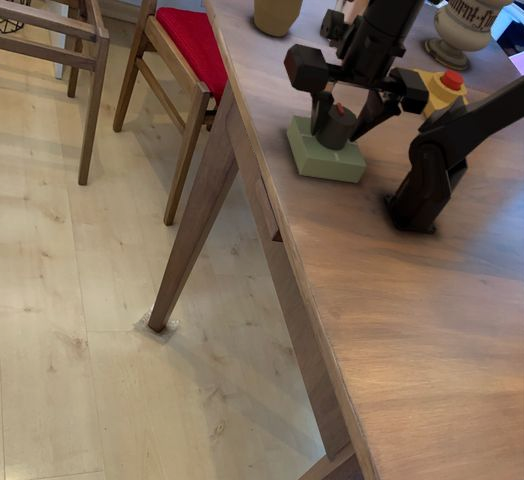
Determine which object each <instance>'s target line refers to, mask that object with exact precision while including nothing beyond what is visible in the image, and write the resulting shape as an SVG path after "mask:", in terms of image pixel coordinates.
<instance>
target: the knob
mask: <svg viewBox="0 0 524 480" xmlns="http://www.w3.org/2000/svg"><path fill="white" fill-rule="evenodd" d="M357 118H358V117H357V115H356V114H355V113H354V112H353V111H352V110H350V109H349V108H347V107H346V106H344V105H342V103H341V102H336V103H333V105H332V107H331V109H330V111H329V112H328V114H327V116H326V118H325V120H324V122H323V124H322V125H321V127H320V129H319V131H318V132H317V133H316V135H315V136H316V139H317V140H318V142H319V143H320V144H321V145H323V146H324V147H326V148H328V149H331V150H342V149H343V148H344V147H345V145H346V143H347V141H348V139H349V137H350V135H351V133H352V131H353V129H354V127H355V125H356V123H357Z"/></svg>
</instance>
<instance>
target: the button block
mask: <svg viewBox="0 0 524 480" xmlns="http://www.w3.org/2000/svg"><path fill="white" fill-rule="evenodd" d="M411 70H412V71H416V72H418V73H419V75H420V77H421V78H422V80H423V82H424V84H425V85H426V87H427V89H428V91H429V94H430V97H429V103H428V104H427V106H426V108H425V109H424V111H423V113H424V114H425V116H426V119H427V118H428V117H429V116H430V115H431V114H432V113H433V111H434V110H439V109H442V108H444V107H446V106H448V105H449V104H450V103H451V102H453V101H454V100H455V99H456V98H457V97H458V96H460V95H462V97H463V100H464V103H465V105H467V104H470V103H469V101H468V100H467V98H466V96H467V94H468V93H467V92H468V89H467V88H466V86H465V84H464V83H463V84H462V85H461V87H460V88H459V90H458V91H455V90H451V89H449V88H447V87H446V86H445V85H444V84H442V83H441V81H440V80H441V78H442V77H443V75H444V73H445V72H443V71H437V72H430V71H425V70H422V69H417V68H412V69H411Z"/></svg>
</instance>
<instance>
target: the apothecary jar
mask: <svg viewBox="0 0 524 480" xmlns="http://www.w3.org/2000/svg"><path fill="white" fill-rule="evenodd" d="M515 2H516V0H448V2H447V3H446V4H444V5H442V6H440V7H439V8H438V9H437V10H436V11H435V13H434V16H433V26H434V30H435V31H436V33H437V34H438V36H439V38H428V39H427V40H426V41H425V42H424V48H425V50H426V52H427V53H428V54H429V55H431V56H432V57H433V58H434V60H435V61H437V62H438V63H440V64H441V65H443V66H446V67H448V68H450V69H452V70H457V71H463V70H466V69H467V68H468V66H469V60H468V58H467V56H466V55H465V53H464V52H468V53H471V52H472V53H473V52H479V51H482V50H484V49H485V48H487V47H488V46H489V44H490V43H491V40H492V27H493V26H494V24H495V22H496V20H497V19H498V17H499V15H500V13H501V12H502V10H503V9H504V8H505V7H507V6H510V5H512V4H514V3H515Z"/></svg>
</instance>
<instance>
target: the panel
mask: <svg viewBox="0 0 524 480" xmlns="http://www.w3.org/2000/svg"><path fill="white" fill-rule="evenodd" d="M310 125H311V117H306V116H302V115H301V116H300V115H295V114H293V115H292V117H291V120H290V123H289V124H288V128H287V130H286V136H287V140H288V143H289V146H290V149H291V152H292V155H293V158H294V162H295V164H296V167H297V171H298V174H299V175H300V176H304V177H312V178H319V179H324V180H325V179H326V180H333V181H338V182H339V181H340V182H347V183H354V184H358V183H359V182H360V179H361V178H362V176H363V174H364V172H365V171H366V169H367V167H368V166H367V163H366V161H365V158H364V156H363V153H362V152H361V149H360V147H359V144H358V142H357V140H356V141H354V142H350V141H349V139H348V141H347V143H346V145H345V147H344V148H343V149H342V150H331V149H328V148H326V147H324V146H323V145H321V144H320V143H319V142H318V140H317V139H316V136H312V135H311V132H310Z"/></svg>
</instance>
